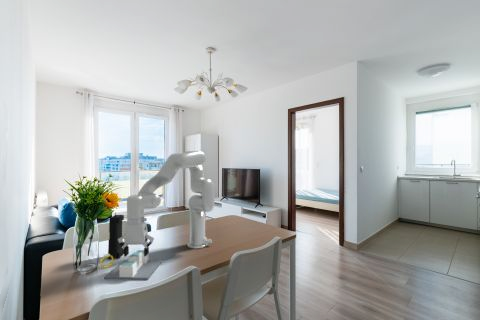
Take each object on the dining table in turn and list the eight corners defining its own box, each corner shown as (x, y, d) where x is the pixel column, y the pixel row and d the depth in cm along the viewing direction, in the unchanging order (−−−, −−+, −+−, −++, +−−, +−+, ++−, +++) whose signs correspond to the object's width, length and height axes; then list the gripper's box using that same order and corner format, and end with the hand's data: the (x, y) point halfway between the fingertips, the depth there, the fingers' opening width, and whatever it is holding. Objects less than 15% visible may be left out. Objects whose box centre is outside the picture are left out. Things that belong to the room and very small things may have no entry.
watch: (102, 270, 112) (101, 258, 112) (99, 268, 114) (98, 256, 114) (114, 264, 117) (113, 253, 117) (112, 263, 119) (111, 252, 118)
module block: (142, 264, 115) (142, 251, 115) (136, 269, 109) (136, 256, 109) (134, 263, 115) (134, 251, 115) (128, 269, 109) (128, 256, 109)
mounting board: (161, 262, 121) (162, 249, 121) (147, 279, 103) (147, 265, 103) (124, 261, 121) (124, 249, 121) (103, 279, 103) (103, 265, 103)
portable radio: (113, 253, 131) (113, 210, 131) (124, 253, 132) (124, 210, 132) (106, 259, 123) (107, 213, 123) (118, 259, 124) (118, 213, 124)
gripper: (156, 218, 115) (156, 252, 116) (122, 218, 116) (122, 252, 116) (150, 222, 108) (150, 258, 108) (113, 223, 108) (114, 258, 108)
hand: (136, 255), depth 112 cm, fingers open, 9 cm apart
